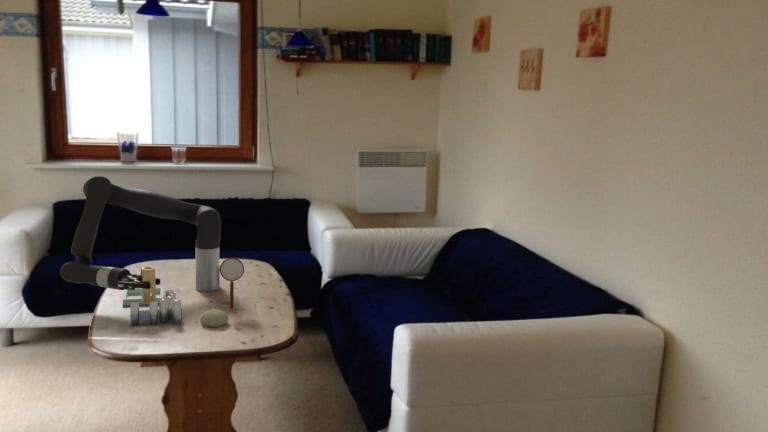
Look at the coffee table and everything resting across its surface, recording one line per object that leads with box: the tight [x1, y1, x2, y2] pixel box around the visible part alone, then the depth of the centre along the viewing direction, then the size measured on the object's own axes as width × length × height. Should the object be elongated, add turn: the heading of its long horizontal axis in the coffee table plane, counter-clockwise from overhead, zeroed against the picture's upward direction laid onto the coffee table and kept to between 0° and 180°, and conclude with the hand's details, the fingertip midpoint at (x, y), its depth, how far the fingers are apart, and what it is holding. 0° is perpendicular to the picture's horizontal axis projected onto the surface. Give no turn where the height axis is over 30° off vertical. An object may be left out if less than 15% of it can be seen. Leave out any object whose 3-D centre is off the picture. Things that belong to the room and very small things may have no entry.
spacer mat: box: [129, 308, 184, 328], centre depth 242 cm, size 17×17×1 cm
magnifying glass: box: [219, 257, 245, 312], centre depth 253 cm, size 9×2×20 cm, turn 102°
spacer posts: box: [129, 289, 182, 326], centre depth 240 cm, size 16×14×8 cm
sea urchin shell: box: [200, 308, 229, 328], centre depth 240 cm, size 9×8×8 cm
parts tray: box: [122, 286, 164, 307], centre depth 261 cm, size 14×14×3 cm
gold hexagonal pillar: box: [140, 265, 157, 303], centre depth 240 cm, size 5×4×12 cm
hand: (154, 283), depth 239 cm, fingers closed on gold hexagonal pillar, 4 cm apart
